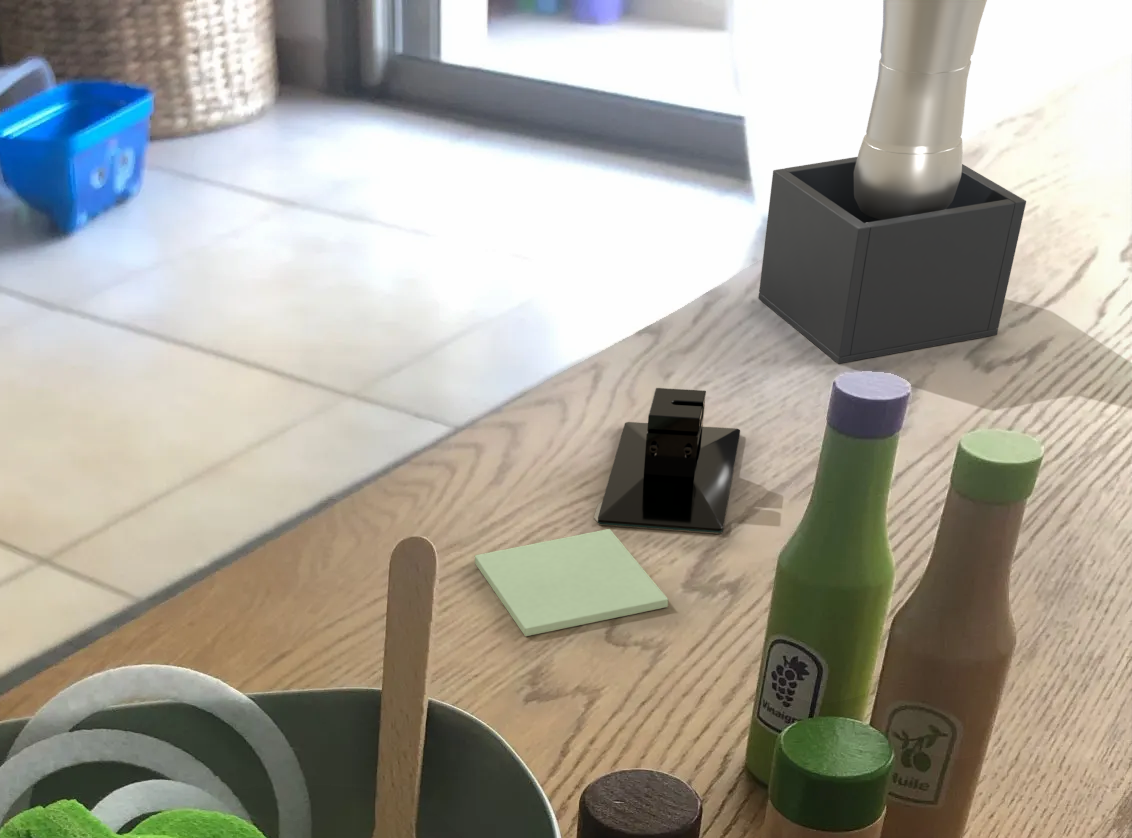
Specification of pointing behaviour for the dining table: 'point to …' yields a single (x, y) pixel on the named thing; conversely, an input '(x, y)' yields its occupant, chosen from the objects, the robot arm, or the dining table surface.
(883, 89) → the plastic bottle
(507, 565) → the mat
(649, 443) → the black piece
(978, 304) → the open box
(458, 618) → the dining table surface
